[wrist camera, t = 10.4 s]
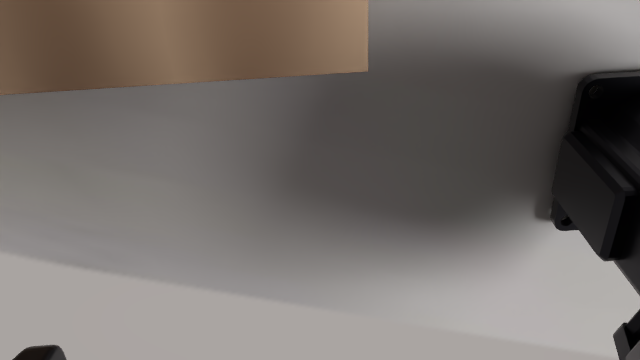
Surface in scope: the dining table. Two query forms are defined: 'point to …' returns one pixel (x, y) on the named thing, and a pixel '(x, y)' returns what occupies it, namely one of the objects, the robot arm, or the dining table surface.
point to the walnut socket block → (175, 41)
